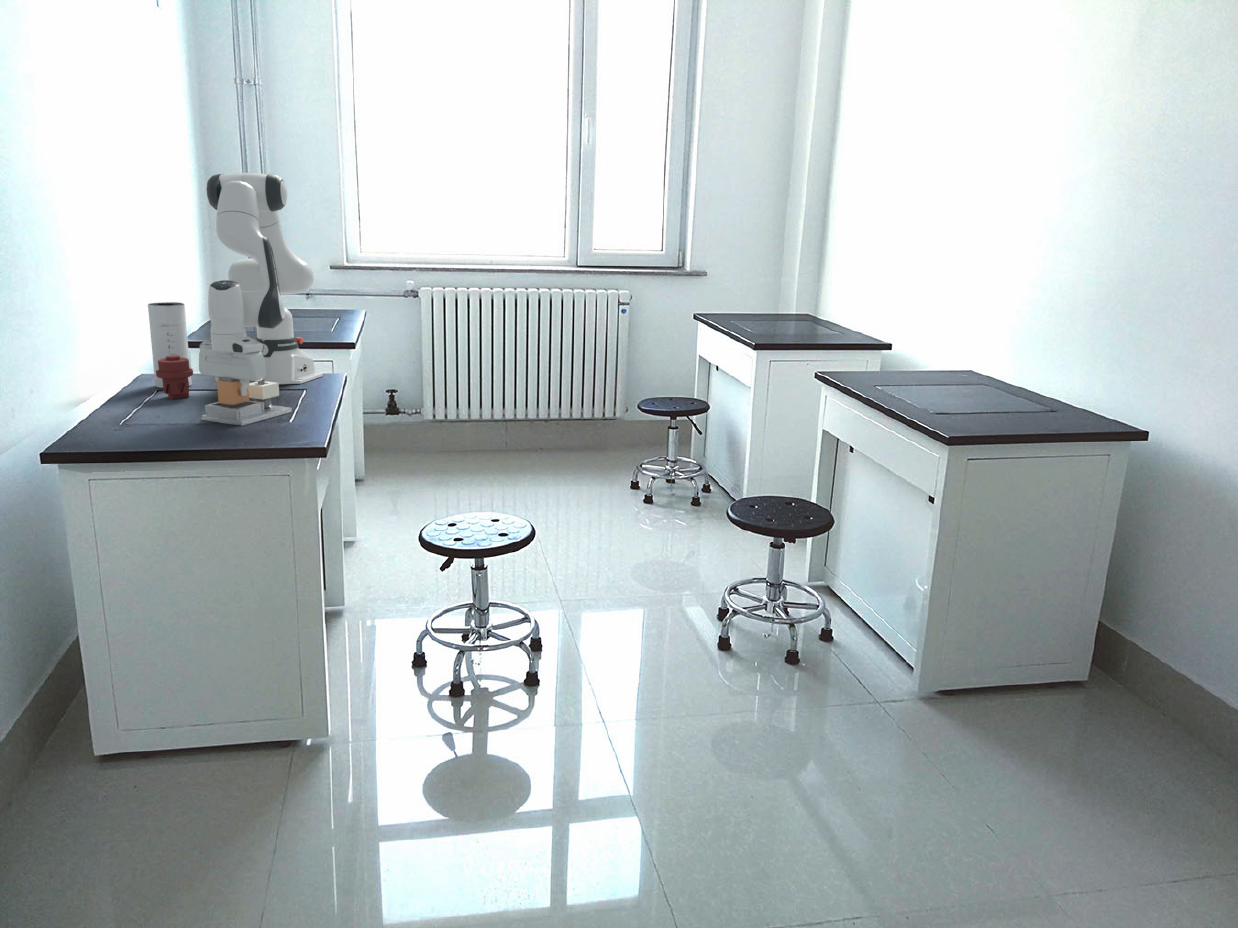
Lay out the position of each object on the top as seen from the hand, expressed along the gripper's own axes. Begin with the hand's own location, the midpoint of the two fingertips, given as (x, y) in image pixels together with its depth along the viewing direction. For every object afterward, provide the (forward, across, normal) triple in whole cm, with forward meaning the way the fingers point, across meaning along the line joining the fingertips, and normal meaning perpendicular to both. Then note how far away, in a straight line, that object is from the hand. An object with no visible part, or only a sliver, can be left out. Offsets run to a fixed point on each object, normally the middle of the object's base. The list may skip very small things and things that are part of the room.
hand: (233, 394), depth 261 cm
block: (+2, 0, 0) cm, 2 cm away
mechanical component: (+7, -35, +13) cm, 38 cm away
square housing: (+2, 0, +11) cm, 11 cm away
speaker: (+7, -49, +25) cm, 55 cm away
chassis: (+7, 0, +5) cm, 8 cm away
